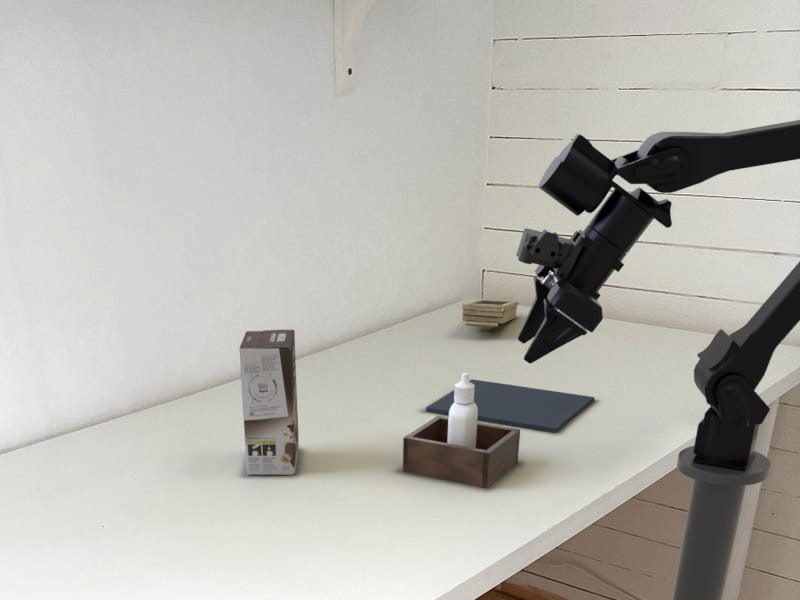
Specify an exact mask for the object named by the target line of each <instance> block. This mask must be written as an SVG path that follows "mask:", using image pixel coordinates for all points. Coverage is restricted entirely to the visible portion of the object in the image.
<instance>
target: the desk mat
mask: <svg viewBox="0 0 800 600" xmlns="http://www.w3.org/2000/svg"><path fill="white" fill-rule="evenodd" d="M469 382H470V383H472V384H474V385H475V389H474V401H473V402H474V403H475V404H476V405H477V408H478V418H477V421H483V422H488V423H489V422H490V423H495V424H501V425H507V426H514V427H520V428H525V429H531V430H532V429H533V430H537V431H543V432H549V433H557V432H559V431H560V430H561V429H562V428H564V427H565V426H566V425H567V424H568V423H569V422H571V421H572V420H573V419H574V418H575V417H577V416H578V415H579V414H580V413H582V412H583V411H584V410H585V409H586V408H587V407H589V406H590V405H591V404H592V403H594V402H595V396H591V395H590V396H589V395H583V394H575V393H570V392H562V391H555V390H548V389H541V388H536V387H527V386H522V385H514V384H507V383H499V382H494V381H487V380H480V379H474V378H473V379H469ZM454 402H455V401H454V390H452V391H450V392H449V393H447V394H445V395H444V396H442V397H441V398H439V399H437V400H436V401H434V402H432V403H430V404H429V405H428V406H425V407H426V408H425V411H426V412H430V413H434V414H441V415H446V416H449V410H450V408H451V406H452V404H453V403H454Z"/></svg>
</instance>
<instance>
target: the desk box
mask: <svg viewBox="0 0 800 600" xmlns="http://www.w3.org/2000/svg"><path fill="white" fill-rule="evenodd" d="M448 417H449V416H448ZM448 417H447V416H442V415H436V416H435V417H433V418H432V419H430V420H429V421H427V422H425V423H424V424H422V425H420V426H419V427H418V428H416V429H415V430H413V431H411V432H410V433H408V434H407V435H405V436H404V437H403V439H402V442H403V443H402V472H403V473H406V474H407V473H409V474H413V475H418V476H422V477H428V478H433V479H438V480H442V481H443V480H444V481H448V482H453V483H458V484H463V485H468V486H473V487H479V488H482V489H488V488H490V487H491V486H492V485H493V484H494V483H496V482H497V481H498V480H499V479H500V478H502V477H503V476H504V475H505V474H506V473H507V472H509V471H510V470H511V469H513V467H515V466H516V465H517V464H518V461H519V451H520V441H521V440H520V439H521V429H520V428H515V427H514V428H513V427H508V426H501V425H495V424H490V423H484V422H478V421H477V435H476V448H471V447H465V446H460V445H454V444H449V443H447V438H448Z"/></svg>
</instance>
